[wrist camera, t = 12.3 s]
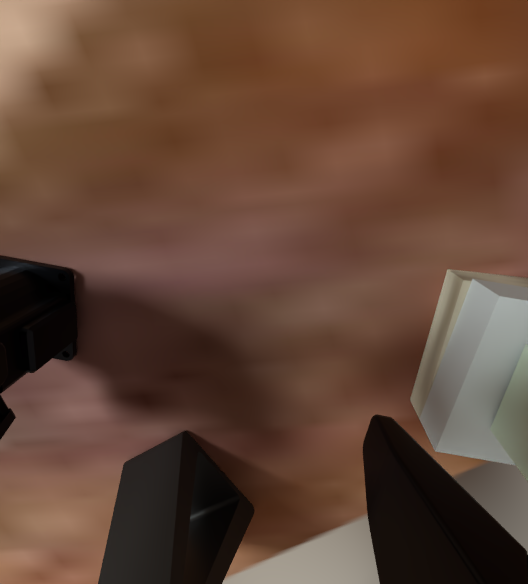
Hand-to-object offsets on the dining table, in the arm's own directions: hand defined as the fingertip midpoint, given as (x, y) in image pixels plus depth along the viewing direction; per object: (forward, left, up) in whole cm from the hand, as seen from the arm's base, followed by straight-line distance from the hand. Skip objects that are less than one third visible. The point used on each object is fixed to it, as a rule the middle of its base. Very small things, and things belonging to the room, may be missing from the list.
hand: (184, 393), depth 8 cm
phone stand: (-2, -19, -13) cm, 23 cm away
